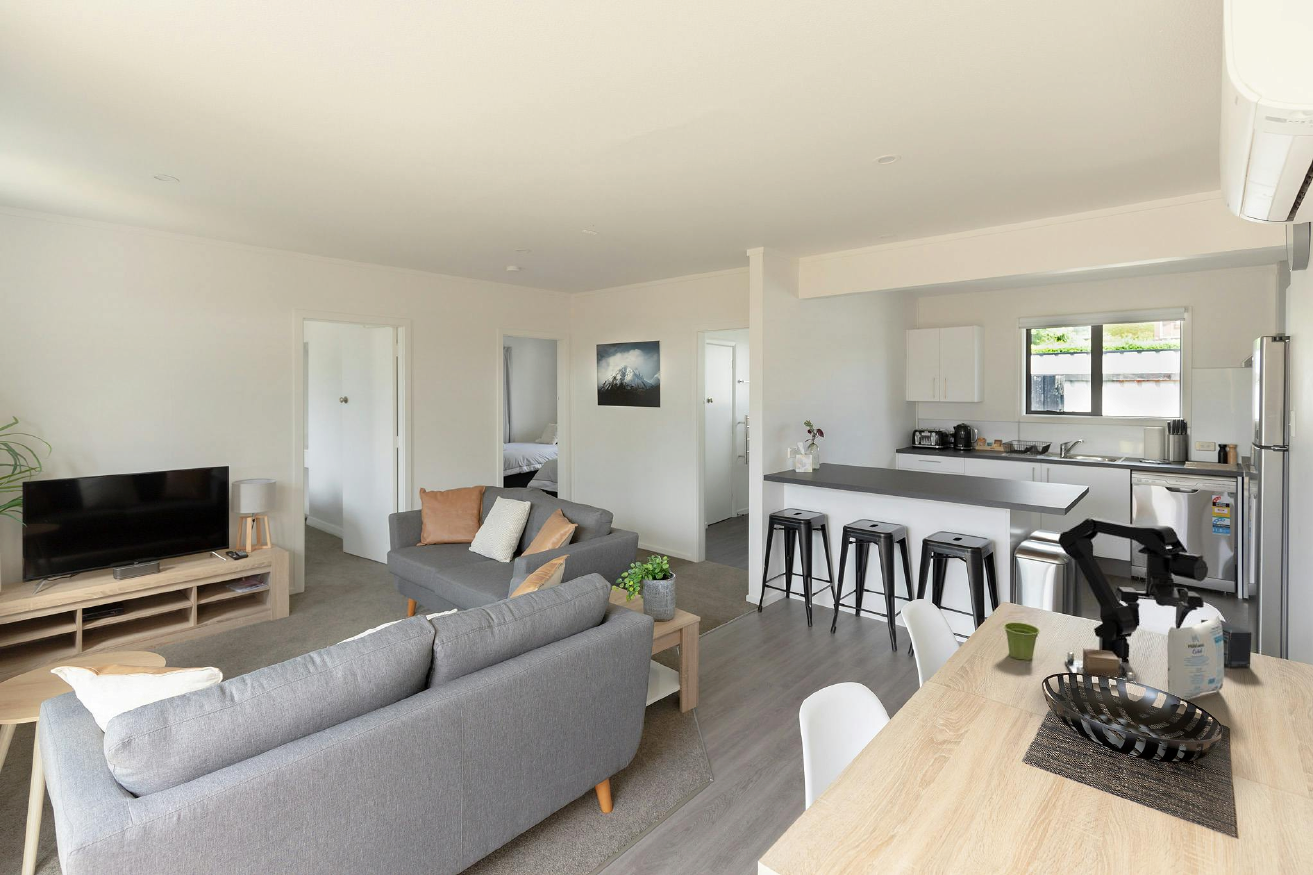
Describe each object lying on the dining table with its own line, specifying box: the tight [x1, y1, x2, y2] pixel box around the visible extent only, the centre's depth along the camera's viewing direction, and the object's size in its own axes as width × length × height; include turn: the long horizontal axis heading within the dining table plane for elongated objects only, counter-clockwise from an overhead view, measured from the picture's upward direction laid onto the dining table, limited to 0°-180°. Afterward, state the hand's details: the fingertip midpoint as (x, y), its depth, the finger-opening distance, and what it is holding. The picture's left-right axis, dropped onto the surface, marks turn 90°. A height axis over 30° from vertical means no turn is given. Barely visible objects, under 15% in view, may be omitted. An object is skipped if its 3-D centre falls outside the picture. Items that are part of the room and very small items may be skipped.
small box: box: [1200, 619, 1253, 669], centre depth 189 cm, size 11×6×10 cm, turn 179°
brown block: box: [1082, 647, 1119, 677], centre depth 182 cm, size 6×7×5 cm
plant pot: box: [1003, 622, 1040, 661], centre depth 196 cm, size 9×9×9 cm
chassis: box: [1064, 651, 1137, 684], centre depth 182 cm, size 14×13×3 cm
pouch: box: [1166, 615, 1225, 701], centre depth 167 cm, size 8×19×20 cm, turn 107°
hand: (1157, 627), depth 182 cm, fingers open, 9 cm apart
